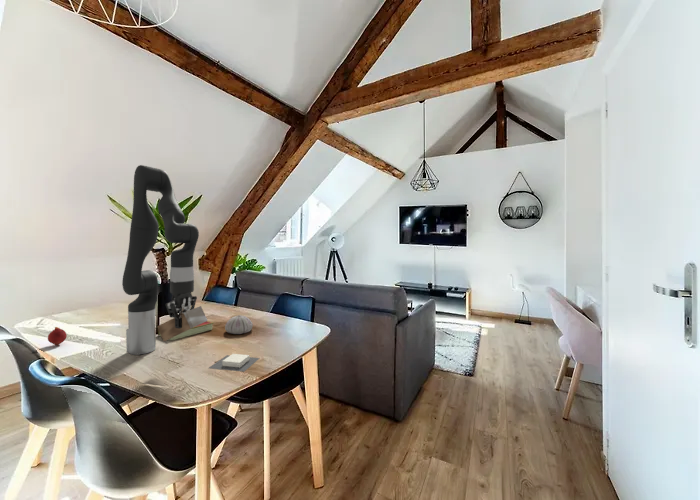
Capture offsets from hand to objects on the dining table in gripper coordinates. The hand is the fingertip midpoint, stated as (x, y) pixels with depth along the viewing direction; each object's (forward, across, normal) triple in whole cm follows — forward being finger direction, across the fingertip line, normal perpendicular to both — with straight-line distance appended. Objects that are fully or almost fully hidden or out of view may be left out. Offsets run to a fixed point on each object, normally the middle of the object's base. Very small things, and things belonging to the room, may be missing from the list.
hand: (182, 326), depth 108 cm
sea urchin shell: (+16, -43, -1) cm, 46 cm away
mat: (+15, -6, +17) cm, 24 cm away
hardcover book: (+16, -36, -25) cm, 47 cm away
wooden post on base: (+2, 0, 0) cm, 2 cm away
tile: (+14, -7, +14) cm, 21 cm away
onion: (+16, -11, -67) cm, 70 cm away
